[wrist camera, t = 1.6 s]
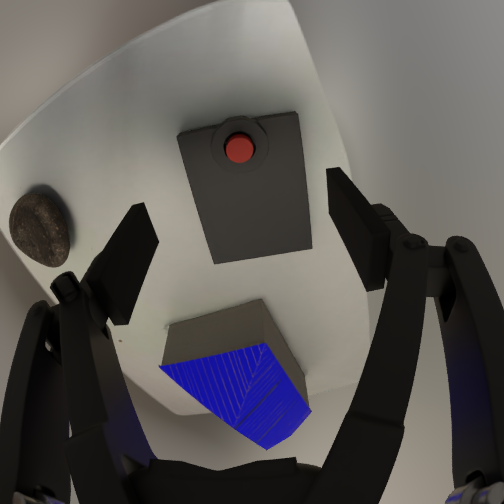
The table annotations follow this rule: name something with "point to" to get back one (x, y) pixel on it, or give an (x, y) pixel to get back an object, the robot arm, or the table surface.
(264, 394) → the house
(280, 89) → the table surface
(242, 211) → the scale
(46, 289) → the table surface
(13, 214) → the stone
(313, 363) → the table surface
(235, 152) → the tare button
